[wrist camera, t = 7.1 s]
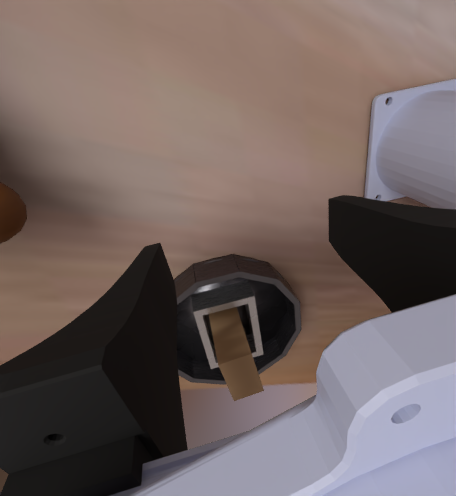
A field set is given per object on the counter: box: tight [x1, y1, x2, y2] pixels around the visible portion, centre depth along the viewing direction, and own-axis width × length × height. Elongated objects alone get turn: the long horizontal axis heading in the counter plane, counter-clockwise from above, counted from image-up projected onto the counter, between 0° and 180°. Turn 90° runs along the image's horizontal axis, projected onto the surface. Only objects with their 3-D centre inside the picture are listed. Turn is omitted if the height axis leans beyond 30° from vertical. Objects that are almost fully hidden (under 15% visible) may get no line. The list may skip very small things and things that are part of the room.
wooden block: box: [209, 307, 264, 401], centre depth 24 cm, size 2×4×6 cm, turn 15°
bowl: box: [174, 254, 301, 384], centre depth 26 cm, size 13×13×3 cm
